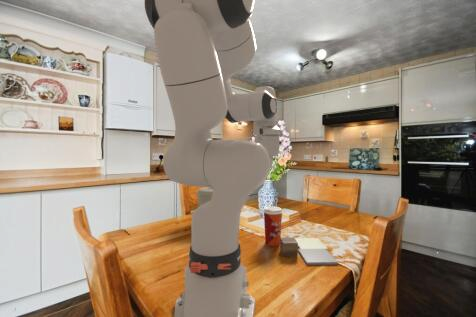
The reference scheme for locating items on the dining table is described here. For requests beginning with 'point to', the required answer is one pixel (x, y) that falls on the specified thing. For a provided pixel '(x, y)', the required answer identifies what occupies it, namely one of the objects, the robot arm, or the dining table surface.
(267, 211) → the paper cup
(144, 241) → the dining table surface
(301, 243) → the pad
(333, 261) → the pad
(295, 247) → the walnut cube
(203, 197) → the canister
